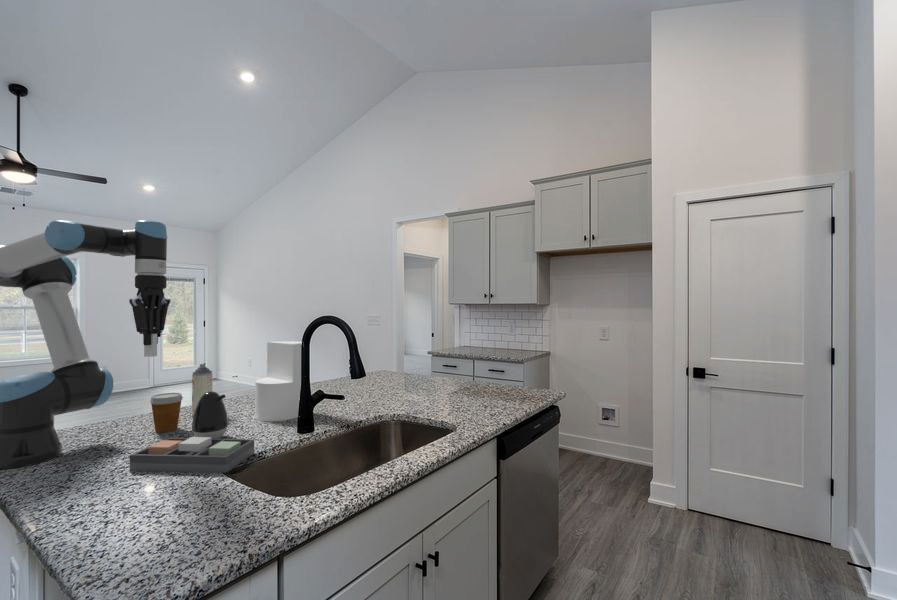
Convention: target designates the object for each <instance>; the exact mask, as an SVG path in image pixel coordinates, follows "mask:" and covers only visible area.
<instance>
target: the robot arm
mask: <svg viewBox="0 0 897 600" xmlns="http://www.w3.org/2000/svg"><path fill="white" fill-rule="evenodd" d="M167 232H168V231H167V227H166V224H165V223H163V222H161V221H154V220H137V221H136V222H135V224H134V229H120V228H112V227H106V226H101V225H95V224H94V225H93V224H88V223H83V222H75V221H73V220H59V219H56V220H55V219H54V220H52V221H50V222H49V224H48V225H47V226H46V227H45V230H44V232H41V233H39V234H36V235H33V236H30V237H27V238H24V239H21V240H18V241H15V242H13V243H9V244H5V245H4V244H0V287H4V288H19V289H21V291H22V293H23V295H24V297H25V298H28V299H30V300H32V303H33V306H34V309H35V311H36V315H37V319H38V323H39V325H40V327H41V331H42V335H43V337H44V340H45V344H46V347H47V350H48V353H49V357H50V360H51V362H52V365H53V368H52V369H51V370H50V371H40V372H39V371H38V372H33V373H25V374H22V375H17V376H13V377H9V378H6V379H3V380H2V381H0V470H5V469H14V468H21V467H26V466H29V465H31V466H32V465H35V464H38V463H43V462H46V461H49V460H52V459H54V458H56V457H58V456H60V455H61V454H63V444H62V442H61V441H60V438H59V435H58V434H57V431H56V429H55V416H59V415H63V414H64V415H65V414H68V413H73V412H77V411H83V410H90V409H92V408H95V407H99V406H101V405H104V404H105V403H106V402H108V401H109V399H110V397H111V396H112V392H113V391H114V377H113V374H112V373H111V372H110V371H109V370H108V369H105V368H100V367H99V363H98V361H97V360H95V359H91V358H90V356H89V353H88V350H87V347H86V344H85V341H84V339H83V334H82V332H81V329H80V326H79V323H78V320H77V317H76V315H75V311H74V309H73V306H72V302H71V300H70V295H69V293H70V292H71V290H72V289H73V286H74V285H75V283H76V281H77V277H76V276H77V274H78V272H77V269H76V266H75V264H74V262H73V261H72V260H71V259H70V258H69V257H67V256H71V255H74V254H77V253H81V252H83V253H84V252H85V253H96V254H104V255H110V256H113V257H121V258H123V257H128V256H134V273H135V274H136V275H135V276H134V287H135V288H136V289H137V292H136V296H135V297H134V298H130V299H129V300H128V301H129V302H128V303H129V304H130V306H131V309H132V313H133V318H134V322H135V323H134V324H135V329H136V332H137V333H139V334H140V335H143V337H142V338H143V339H142V340H143V341H142V345H143V350H144V351H143V352H144V353H143V354H144V355H143V356H144V357H148V358H149V357H150V358H152V357H158V344H159V334H162V333H163V331H164V330H165V325H166V319H167V314H168V308H169V306H170V303H171V299H170V298H166V297H165V293H164V289H167V276H165V275H166V274H167V258H168V257H167V256H168V255H167V253H168V252H167V251H168V250H167V247H168V245H167V244H168V243H167V242H168V234H167Z"/></svg>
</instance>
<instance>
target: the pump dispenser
mask: <svg viewBox="0 0 897 600" xmlns="http://www.w3.org/2000/svg"><path fill="white" fill-rule="evenodd" d="M225 398H226V394H219V392H216V391H213V390H212V391H210V392H207V393H205V394H203V395H202V397H201V398H200V400H199V402H198V404H197V407H196V410H195V413H194V417H192V423H191V431H192V432H193V433H192V434H193V437H211V439H221V438H222V437H223V436H224V435H225V434H226V432H227V429H228V427H229V418H228V411H227V410H226V406H225V403H224V401H223V399H225Z"/></svg>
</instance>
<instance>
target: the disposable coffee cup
mask: <svg viewBox="0 0 897 600" xmlns="http://www.w3.org/2000/svg"><path fill="white" fill-rule="evenodd" d="M183 398H184V397H183V395H182V393H180V392H165V393H159V394H155V395H152V396H151V397H150V400H149V402H150V404H151V410H152V417H153V423H154V424H153V425H154V431H155V433H158V434H165V433H171V432H174V431H177V430H178V427H179V419H180V412H181V407H182V406H181V405H182V401H183Z"/></svg>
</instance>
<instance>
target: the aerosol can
mask: <svg viewBox="0 0 897 600" xmlns="http://www.w3.org/2000/svg"><path fill="white" fill-rule="evenodd" d="M210 391H213V370H210V368H208V367H207V366H206V364H205V363H200V364H199V366H198V367H197V369H195V371H193V372H192V375H191V396H192V397H191V402H192V403H191V417H192V418H193V417H194V413H195V410H196V407H197V404H198V402H199V400H200V398H201V397H202V395H203V394H205V393H207V392H210Z"/></svg>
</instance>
